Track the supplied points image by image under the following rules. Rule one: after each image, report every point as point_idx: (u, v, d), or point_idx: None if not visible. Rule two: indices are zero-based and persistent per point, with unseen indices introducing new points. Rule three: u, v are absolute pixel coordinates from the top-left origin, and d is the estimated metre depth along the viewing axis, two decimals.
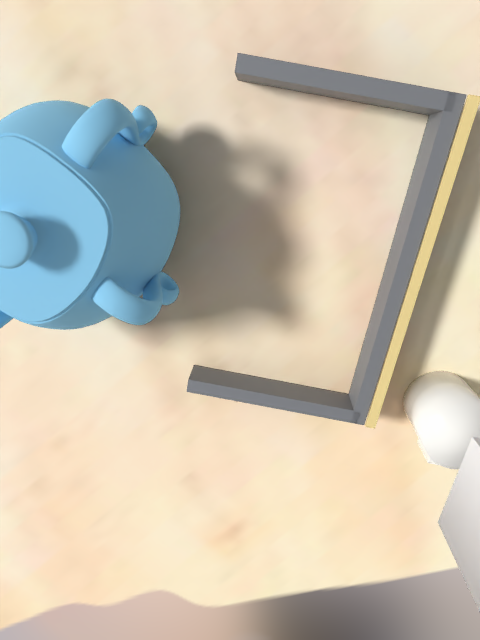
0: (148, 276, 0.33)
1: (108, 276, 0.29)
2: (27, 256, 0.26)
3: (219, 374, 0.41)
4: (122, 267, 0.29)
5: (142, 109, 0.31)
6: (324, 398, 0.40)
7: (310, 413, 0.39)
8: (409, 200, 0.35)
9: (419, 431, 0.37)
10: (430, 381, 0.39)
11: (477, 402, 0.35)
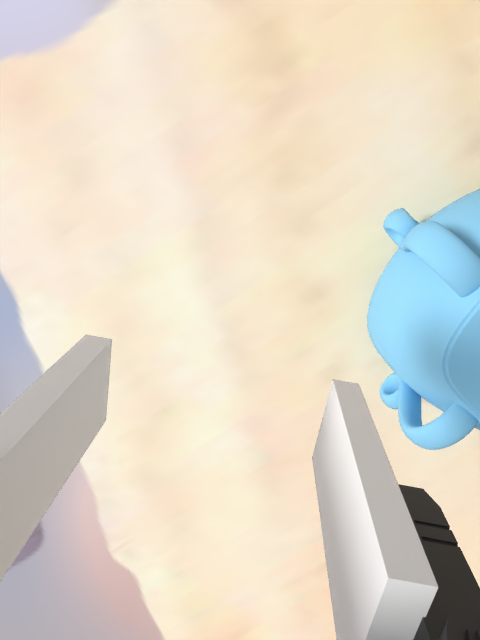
0: None
1: None
2: None
3: None
4: None
5: None
6: None
7: None
8: None
9: None
10: None
11: None
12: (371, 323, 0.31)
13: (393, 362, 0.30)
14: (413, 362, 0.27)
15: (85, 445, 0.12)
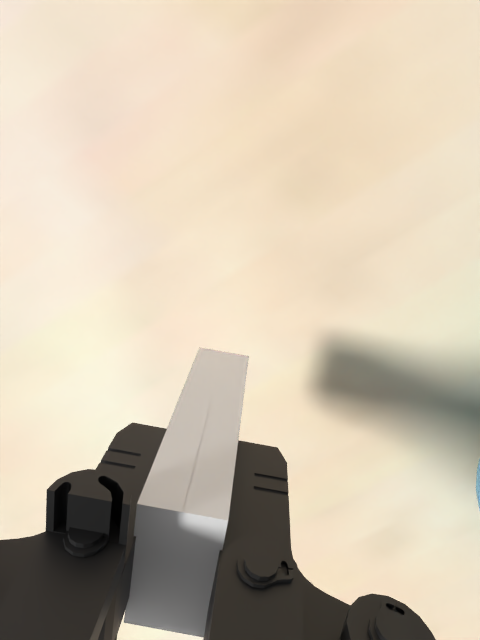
0: None
1: None
2: None
3: None
4: None
5: None
6: None
7: None
8: None
9: None
10: None
11: None
12: None
13: None
14: None
15: None
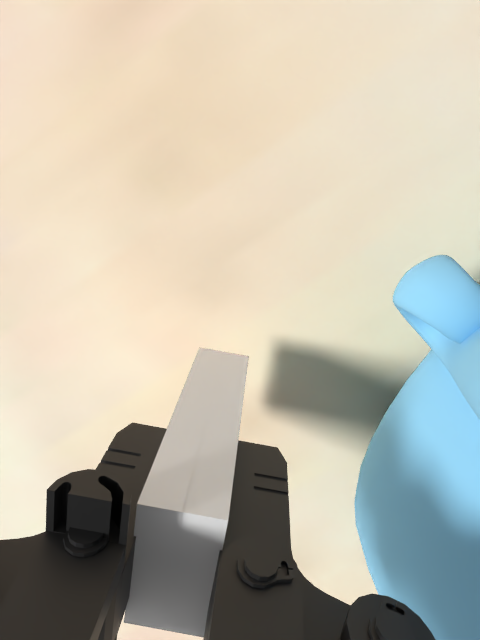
0: None
1: None
2: None
3: None
4: None
5: None
6: None
7: None
8: None
9: None
10: None
11: None
12: (364, 536, 0.13)
13: None
14: None
15: None
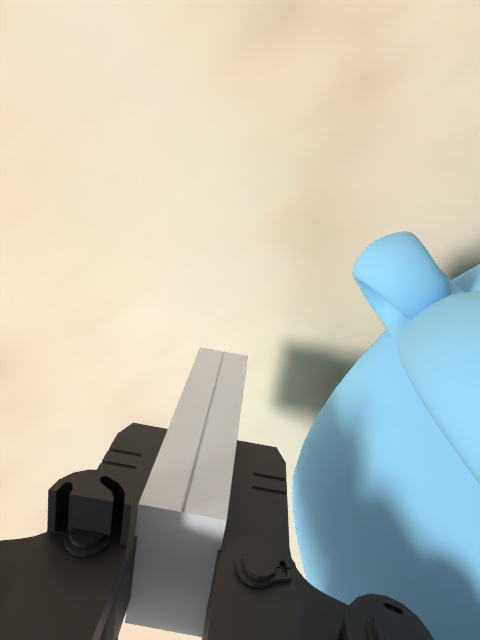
0: None
1: None
2: None
3: None
4: None
5: None
6: None
7: None
8: None
9: None
10: None
11: None
12: (296, 508, 0.13)
13: None
14: None
15: None
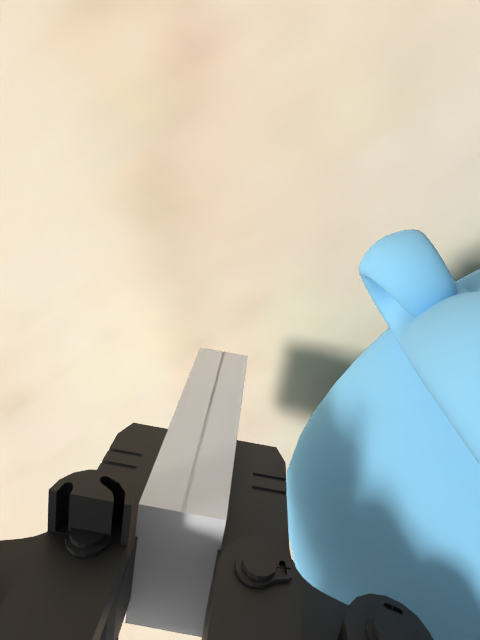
0: None
1: None
2: None
3: None
4: None
5: None
6: None
7: None
8: None
9: None
10: None
11: None
12: (290, 502, 0.12)
13: None
14: None
15: None
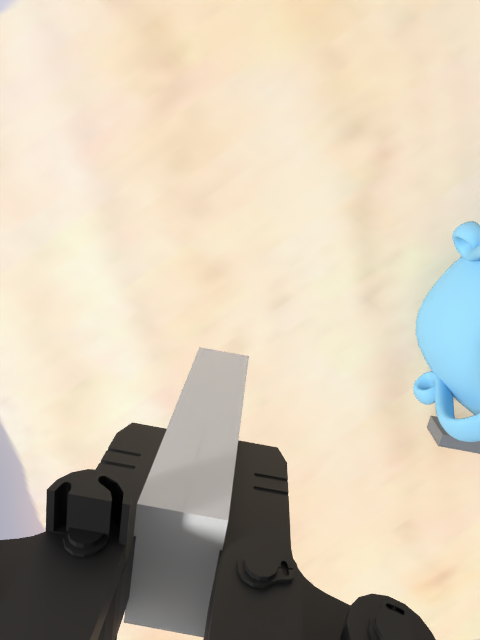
0: None
1: None
2: None
3: None
4: None
5: None
6: None
7: None
8: None
9: None
10: None
11: None
12: (423, 321, 0.34)
13: (441, 359, 0.32)
14: (466, 360, 0.30)
15: None
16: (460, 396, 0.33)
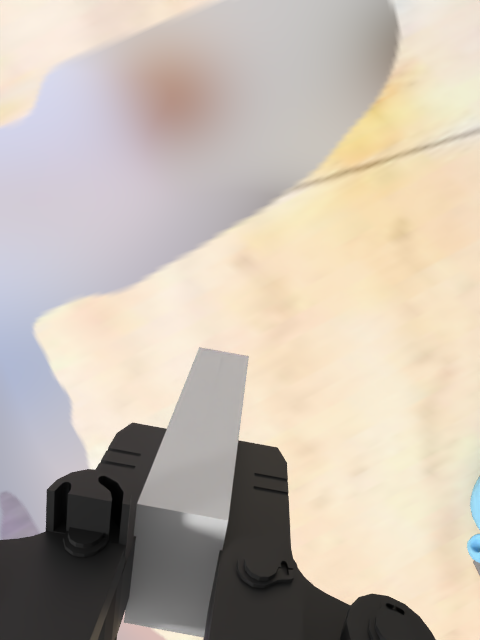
0: None
1: None
2: None
3: None
4: None
5: None
6: None
7: None
8: None
9: None
10: None
11: None
12: (478, 505, 0.44)
13: None
14: None
15: None
16: None
